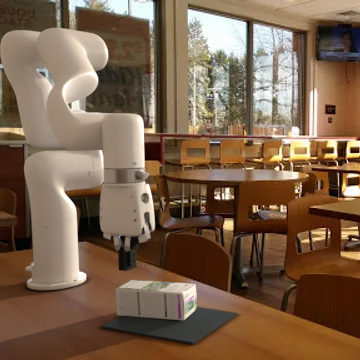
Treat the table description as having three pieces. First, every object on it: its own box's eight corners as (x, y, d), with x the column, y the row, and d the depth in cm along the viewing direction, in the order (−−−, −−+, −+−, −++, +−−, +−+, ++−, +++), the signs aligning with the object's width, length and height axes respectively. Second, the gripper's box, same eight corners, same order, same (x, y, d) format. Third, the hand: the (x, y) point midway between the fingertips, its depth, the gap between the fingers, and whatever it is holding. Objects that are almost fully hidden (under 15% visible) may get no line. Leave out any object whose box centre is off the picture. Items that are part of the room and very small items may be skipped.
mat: (101, 327, 92) (101, 325, 92) (154, 302, 106) (154, 300, 106) (192, 344, 85) (192, 342, 85) (236, 314, 99) (236, 312, 99)
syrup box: (115, 316, 97) (184, 322, 94) (114, 287, 96) (183, 293, 93) (132, 305, 102) (197, 311, 100) (131, 277, 102) (196, 283, 99)
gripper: (168, 176, 97) (171, 268, 99) (108, 174, 102) (112, 261, 104) (142, 180, 90) (145, 278, 92) (79, 177, 95) (83, 270, 97)
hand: (127, 268), depth 98 cm, fingers closed
